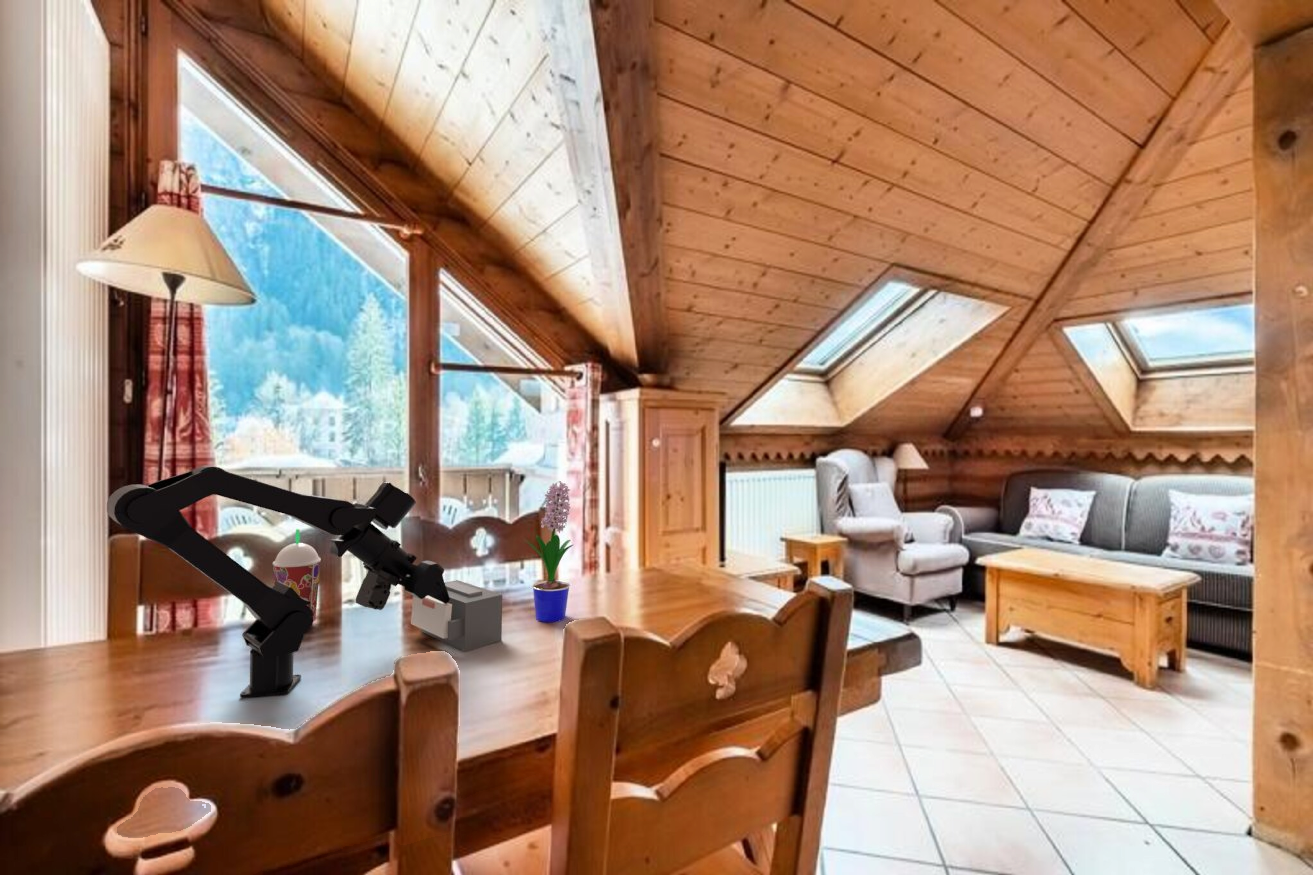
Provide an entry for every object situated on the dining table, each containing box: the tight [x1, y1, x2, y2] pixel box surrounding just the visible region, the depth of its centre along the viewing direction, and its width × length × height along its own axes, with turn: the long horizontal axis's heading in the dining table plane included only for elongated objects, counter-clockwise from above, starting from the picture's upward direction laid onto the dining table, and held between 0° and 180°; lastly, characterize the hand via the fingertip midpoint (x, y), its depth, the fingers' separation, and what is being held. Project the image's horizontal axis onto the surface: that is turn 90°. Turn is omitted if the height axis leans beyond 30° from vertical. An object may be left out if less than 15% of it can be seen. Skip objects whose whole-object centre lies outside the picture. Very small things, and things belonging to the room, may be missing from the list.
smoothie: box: [272, 529, 322, 628], centre depth 121 cm, size 8×8×20 cm
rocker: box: [410, 595, 452, 639], centre depth 114 cm, size 1×12×6 cm, turn 50°
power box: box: [420, 579, 503, 652], centre depth 118 cm, size 10×16×10 cm, turn 50°
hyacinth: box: [524, 480, 574, 623], centre depth 131 cm, size 9×10×30 cm
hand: (435, 596), depth 114 cm, fingers open, 9 cm apart
